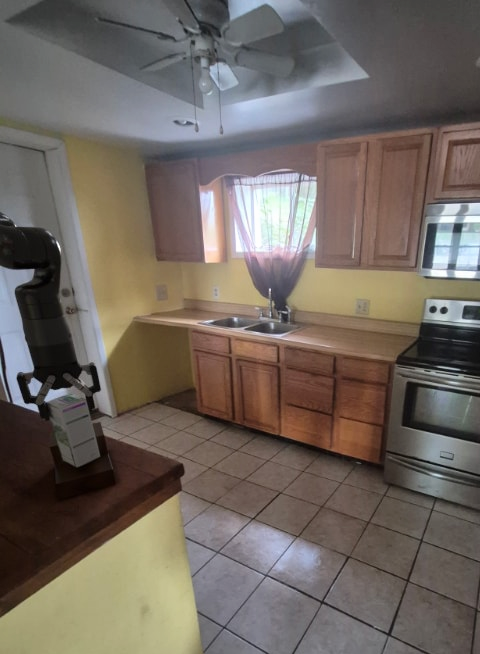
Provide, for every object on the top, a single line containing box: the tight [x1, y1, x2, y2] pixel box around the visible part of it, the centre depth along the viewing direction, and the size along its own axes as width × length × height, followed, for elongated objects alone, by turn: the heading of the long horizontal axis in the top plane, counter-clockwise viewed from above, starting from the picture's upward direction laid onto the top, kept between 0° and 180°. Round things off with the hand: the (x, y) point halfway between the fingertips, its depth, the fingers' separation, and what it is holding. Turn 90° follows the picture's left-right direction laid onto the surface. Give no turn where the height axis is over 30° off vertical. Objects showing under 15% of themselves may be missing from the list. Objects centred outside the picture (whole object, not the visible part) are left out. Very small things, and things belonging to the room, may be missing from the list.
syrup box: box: [45, 393, 100, 467], centre depth 80 cm, size 6×6×14 cm
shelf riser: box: [49, 421, 117, 500], centre depth 87 cm, size 11×16×9 cm
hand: (69, 414), depth 79 cm, fingers closed on syrup box, 7 cm apart
